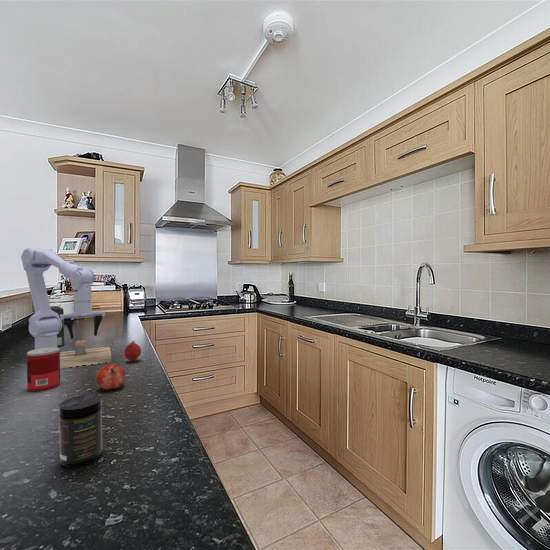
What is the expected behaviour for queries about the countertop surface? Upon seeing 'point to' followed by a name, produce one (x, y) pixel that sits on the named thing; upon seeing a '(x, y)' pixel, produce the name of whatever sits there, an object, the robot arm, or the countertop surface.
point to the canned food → (43, 368)
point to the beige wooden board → (85, 357)
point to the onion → (132, 351)
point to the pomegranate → (111, 376)
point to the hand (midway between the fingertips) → (83, 337)
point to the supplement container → (80, 430)
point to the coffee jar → (61, 333)
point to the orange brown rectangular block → (80, 347)
